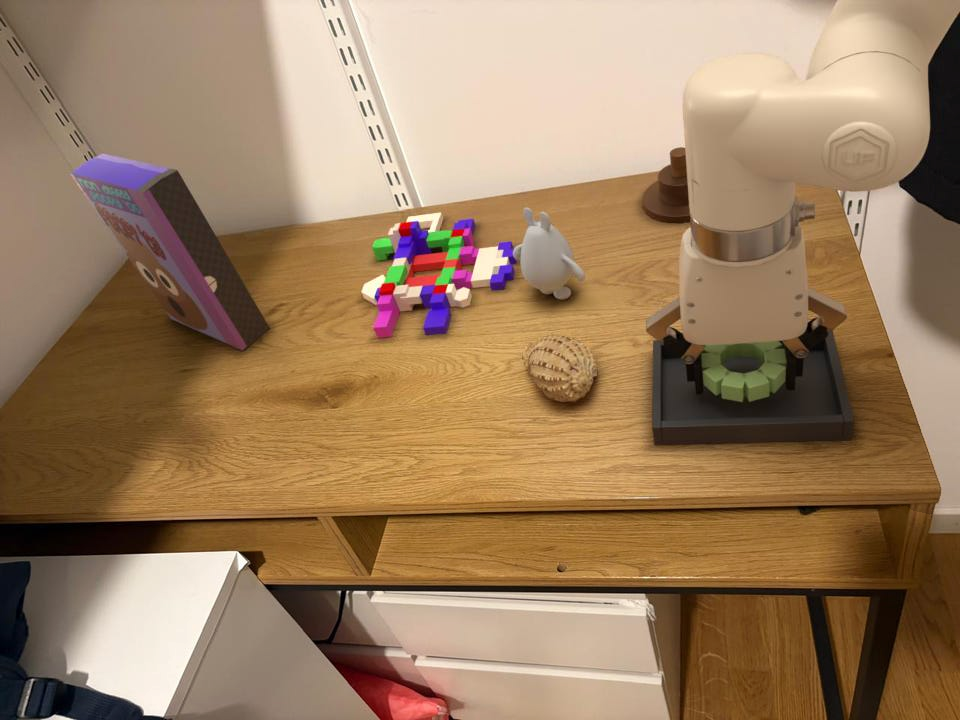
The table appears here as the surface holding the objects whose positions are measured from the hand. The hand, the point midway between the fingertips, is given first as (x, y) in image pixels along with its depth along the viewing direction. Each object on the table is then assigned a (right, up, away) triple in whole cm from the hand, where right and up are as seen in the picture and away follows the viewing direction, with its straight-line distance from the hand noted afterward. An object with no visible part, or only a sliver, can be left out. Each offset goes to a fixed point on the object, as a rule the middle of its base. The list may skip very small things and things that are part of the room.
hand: (743, 380), depth 69 cm
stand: (+2, +22, +27) cm, 35 cm away
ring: (0, +1, -1) cm, 1 cm away
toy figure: (-16, +10, +19) cm, 27 cm away
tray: (+1, -1, +1) cm, 2 cm away
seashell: (-16, 0, +9) cm, 18 cm away
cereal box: (-60, +7, +33) cm, 69 cm away
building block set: (-30, +14, +29) cm, 44 cm away
